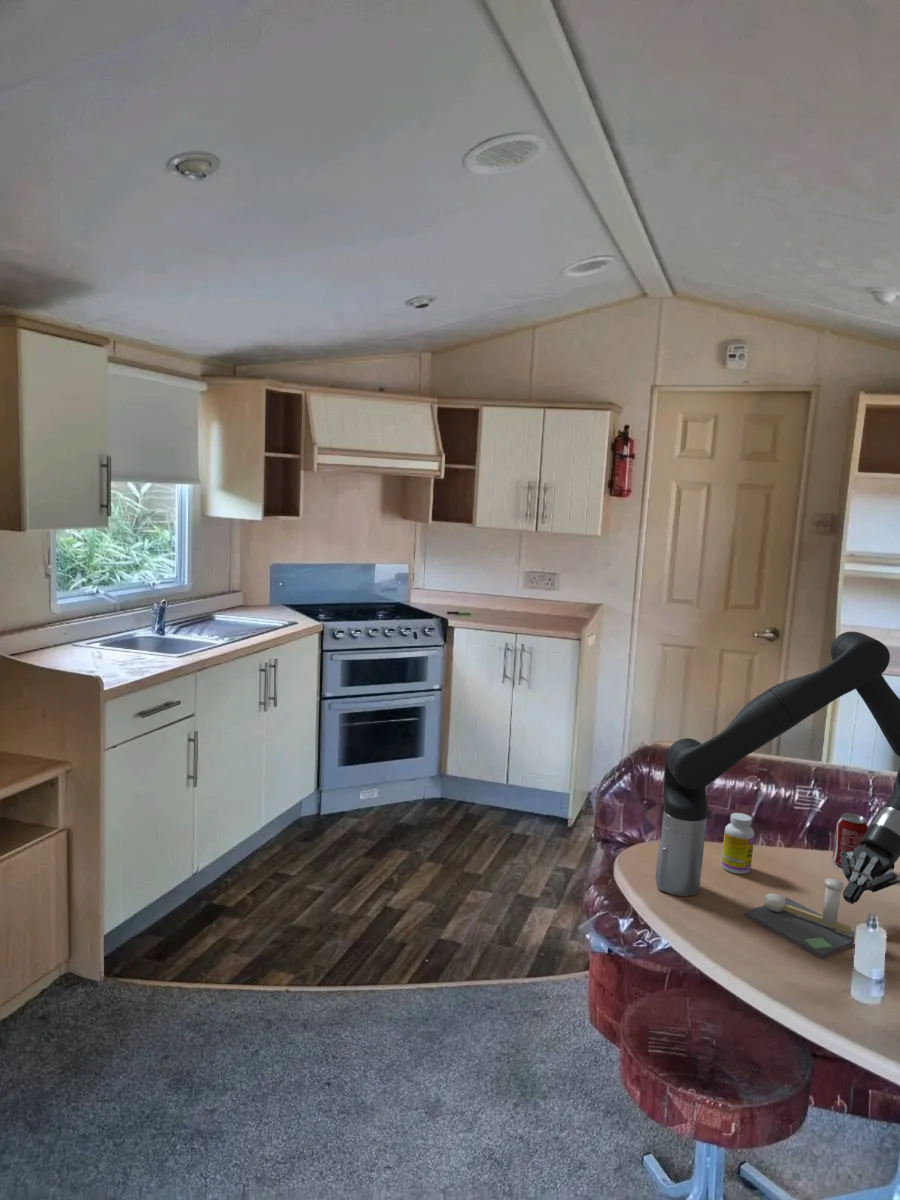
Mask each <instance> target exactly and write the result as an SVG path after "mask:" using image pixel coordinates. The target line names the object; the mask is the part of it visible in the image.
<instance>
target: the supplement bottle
mask: <svg viewBox="0 0 900 1200" xmlns="http://www.w3.org/2000/svg"><path fill="white" fill-rule="evenodd" d="M752 821H753V818H752V817H751V815H748V814H746V813H742V812H741V813H740V812H733V813H731V814H730V823H728V824H727V825H726V826H725V828H724V836H723V843H722V844H723V846H722V854H721V861H720V864H721V867H722V868H723V869H724V870H725V871H727V872H729V873H733V874H737V875H739V874H740V875H744V874H748V873H749V872H750V871H751V867H752V859H753V851H754V843H755V842H754V841H755V830H754V829H753V827H751V825H752Z"/></svg>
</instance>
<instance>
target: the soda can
mask: <svg viewBox="0 0 900 1200" xmlns="http://www.w3.org/2000/svg"><path fill="white" fill-rule="evenodd" d="M836 821H837V822H836V830H835V836H834V844H833V845H834V847H833V852H832V861H833V863H835V864H836V865H837V864H838V865H837V866H838V867H840V866H842V862H841V857H840V852H841V851H845V852H846V853H847V852H853V851H854V849H855V848H856V847H858V846H859V845H860V843H861V840H862V839H863V837H864V835H865V834H866V832H867V831H868V829H869V827H868V825H867V819H866V818H865V817H864V816H862V815H859V814H857V813H851V812H850V813H849V812H847V813H841V815H840V818H839V819H838V820H836ZM850 864H851V870H852V869H854V867H855V860H854V858H853V862H852V863H850Z"/></svg>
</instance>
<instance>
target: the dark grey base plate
mask: <svg viewBox="0 0 900 1200" xmlns="http://www.w3.org/2000/svg"><path fill="white" fill-rule="evenodd" d="M784 898H785V900H786V901H785V904H787V905H790V906H793V907H796V908H799V909H802V910H805V911H808V912H810V913H813V914H816V915H819V916H822V914H820V913H819V912H817V911H815V910H812V909H811V908H808V907H807V906H805V905H802V904H801V903H799V902H797V901H794V900H793V899H790V898H789V897H784ZM744 916H745V917H746V918H748V919H750V920H752V921H753V922H755V923H758V924H759V925H760V926H762V927H764V928H766V929H768V930H770V931H772V932H773V933H775V934H776V935H779V936H781V937H783V938H784V939H786V940H787V941H789V942H791V943H793V944H795V945H797V946H798V947H801V948H802V949H804V950H806V951H808V952H810V953H811V954H813V955H815V956H817V957H819V958H821V959H823V958H826V957H828V956H830V955H832V954H834V952H835V953H836V951H837V952H839V951H841V949H842V950H844V949H846V948H845V947H847V948H848V946H849V947H851V946H854V945H853V943H854V934H855V931H854V930H852V929H851V930H850V932H849V933H847V932H844V931H842V930H839V929H836V928H833V927H830V926H827V925H825V924H822V923H819V922H816V921H813V920H810V919H808V918H805V917H802V916H799V915H796V914H793V913H791V912H788V911H785V910H784V911H782V912H776V911H772V910H769V909H767V908H766V907H765V905H760V906H758V907H755V908H753V909H749V910H747V911H744ZM843 948H844V949H843ZM827 955H828V956H827Z"/></svg>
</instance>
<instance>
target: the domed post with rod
mask: <svg viewBox="0 0 900 1200" xmlns="http://www.w3.org/2000/svg"><path fill="white" fill-rule="evenodd" d="M824 886H825V892H824V901H823V909H822V914H821V915H822V916H819V915H816V914H813V913H810V912H808V911H805V910H802V909H799V908H796V907H793V906H790V905H787V904H785V901H786V900H785V898H786V897H784V896H782V895H781V894H780V895H779V894H777V893H767V894H765V896H764V897H765V898H764V905H765V907H766V908H767V909H769V910H772V911H776V912H782V911H784V910H785V911H788V912H791V913H793V914H796V915H799V916H802V917H805V918H808V919H810V920H813V921H816V922H819V923H822V924H825V925H827V926H830V927H833V928H836V929H839V930H842V931H844V932H847V933H849V932H850V930H852V926H850V925H847V924H845V923H843V922H839V921H838V917H839V909H840V902H841V901H840V900H841V894H842V890H843V889H844V882H842V881H841V880H839V879H835V878H830V877H829V878H825V880H824ZM764 905H763V906H764Z"/></svg>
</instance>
